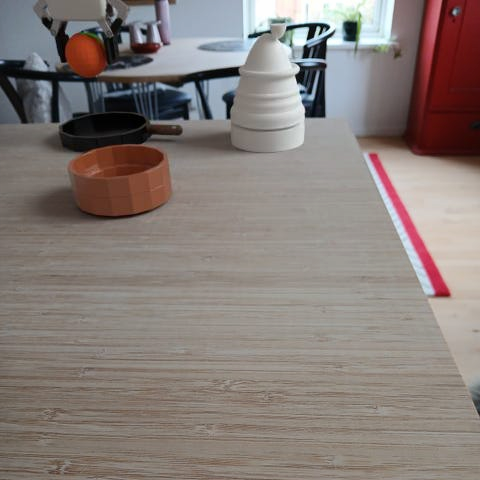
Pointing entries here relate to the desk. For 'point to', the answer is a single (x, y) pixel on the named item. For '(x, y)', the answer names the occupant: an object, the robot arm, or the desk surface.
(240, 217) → the desk surface
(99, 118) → the pan
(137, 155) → the bowl
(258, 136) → the honey pot
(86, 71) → the clementine
